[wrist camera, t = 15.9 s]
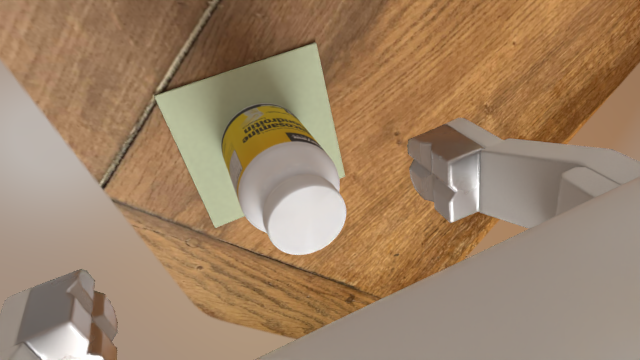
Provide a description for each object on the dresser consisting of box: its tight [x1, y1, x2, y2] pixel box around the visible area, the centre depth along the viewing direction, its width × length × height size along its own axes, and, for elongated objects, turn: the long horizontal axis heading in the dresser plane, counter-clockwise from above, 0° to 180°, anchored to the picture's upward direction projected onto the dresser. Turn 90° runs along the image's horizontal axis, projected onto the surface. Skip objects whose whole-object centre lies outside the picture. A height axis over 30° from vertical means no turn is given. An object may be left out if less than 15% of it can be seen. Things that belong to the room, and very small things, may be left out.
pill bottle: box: [221, 103, 346, 255], centre depth 28 cm, size 6×6×12 cm
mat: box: [154, 43, 345, 228], centre depth 33 cm, size 12×12×1 cm
